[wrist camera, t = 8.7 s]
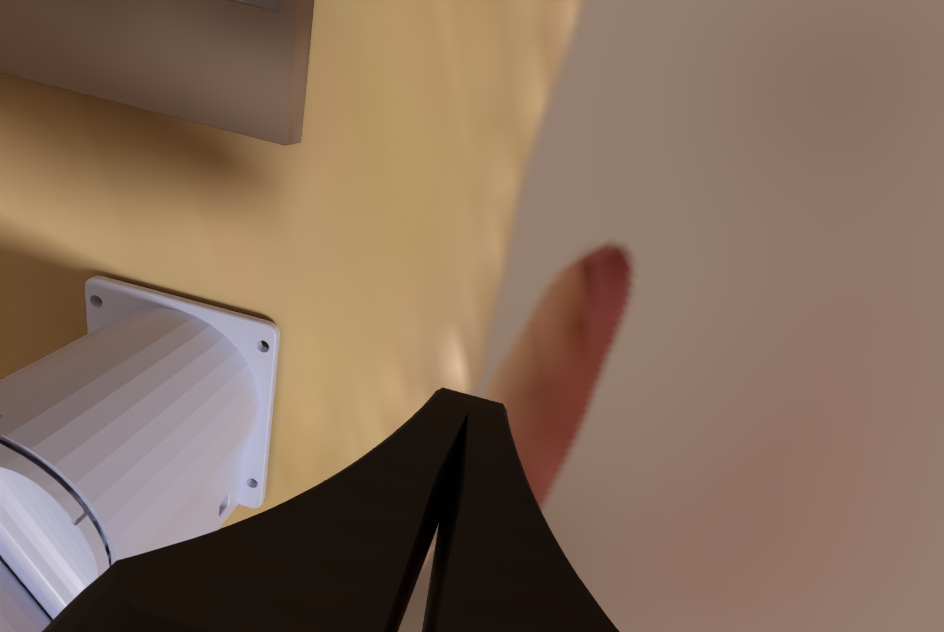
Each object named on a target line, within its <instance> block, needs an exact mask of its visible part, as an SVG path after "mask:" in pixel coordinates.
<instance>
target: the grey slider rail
mask: <svg viewBox="0 0 944 632" xmlns="http://www.w3.org/2000/svg"><path fill="white" fill-rule="evenodd" d="M313 8H314V0H0V73H3V74H7V75H11V76H15V77H19V78H23V79H27V80H31V81H34V82H38V83H42V84H46V85H50V86H54V87H58V88H62V89H66V90H70V91H74V92H78V93H81V94H85V95H89V96H93V97H97V98H101V99H105V100H109V101H113V102H117V103H121V104H125V105H128V106H132V107H136V108H140V109H144V110H148V111H152V112H156V113H160V114H164V115H168V116H172V117H176V118H179V119H183V120H187V121H191V122H195V123H199V124H203V125H207V126H211V127H215V128H219V129H223V130H226V131H230V132H234V133H238V134H242V135H246V136H250V137H254V138H258V139H262V140H266V141H270V142H273V143H277V144H281V145H290V144H295V143H300V142H301V134H302V124H303V113H304V103H305V92H306V82H307V71H308V61H309V50H310V39H311V29H312V18H313Z"/></svg>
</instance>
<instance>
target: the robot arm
mask: <svg viewBox="0 0 944 632" xmlns="http://www.w3.org/2000/svg"><path fill="white" fill-rule="evenodd" d="M97 296H98V297H99V298H100V299H101V300H102V303H101V302H100V301H99V300H98V297H97ZM85 300H86V315H87V331H88V334H87V335H85V336H83V337H81V338H79V339H77V340H75V341H73V342H71V343H69V344H67V345H66V346H64V347H62V348H60V349H58V350H56V351H54V352H52V353H50V354H48V355H46V356H44V357H43V358H41V359H39V360H37V361H35V362H33V363H31V364H29V365H27V366H25V367H23V368H21V369H20V370H18V371H16V372H14V373H12V374H10V375H8V376H6V377H4V378H2V379H0V632H398V630H399V627H400V624H401V622H402V619H403V616H404V614H405V611H406V608H407V606H408V603H409V601H410V598H411V595H412V593H413V590H414V587H415V585H416V582H417V579H418V577H419V574H420V572H421V569H422V566H423V564H424V561H425V558H426V556H427V553H428V550H429V548H430V545H431V542H432V540H433V537H434V534H435V532H436V529H437V526H438V524H439V526H438V532H437V539H436V545H435V551H434V558H433V564H432V571H431V577H430V583H429V590H428V596H427V603H426V610H425V615H424V622H423V629H422V632H619V631H618V629H617V628H616V627H615V626H614V624H613V623H612V622H611V621H610V619H609V618H608V617H607V616H606V614H605V613H604V612H603V610H602V609H601V607H600V606H599V605H598V603H597V602H596V600H595V599H594V598H593V596H592V595H591V593H590V592H589V591H588V589H587V588H586V587H585V585H584V584H583V582H582V581H581V579H580V578H579V577H578V575H577V574H576V572H575V571H574V569H573V567H572V566H571V564H570V563H569V561H568V559H567V558H566V556H565V555H564V553H563V551H562V549H561V548H560V546H559V544H558V542H557V541H556V539H555V537H554V535H553V534H552V532H551V530H550V528H549V526H548V524H547V522H546V520H545V518H544V516H543V514H542V512H541V510H540V508H539V505H538V503H537V501H536V499H535V497H534V495H533V492H532V490H531V488H530V485H529V483H528V480H527V478H526V475H525V473H524V470H523V467H522V465H521V462H520V459H519V457H518V454H517V450H516V447H515V444H514V441H513V437H512V434H511V430H510V426H509V422H508V417H507V410H506V409H505V407H504V405H503V404H501V403H498V402H494V401H490V400H487V399H483V398H479V397H476V396H472V395H468V394H464V393H461V392H457V391H453V390H450V389H446V388H441V389H439V390H437V391H436V392H435V393H434V394H433V396H432V397H431V398H430V399H429V400H428V401H427V402H426V403H425V404H424V406H423V407H422V408H421V409H420V410H419V411H417V412H416V413H415V414H414V415H413V416H412V417H411V418H410V419H409V420H408V421H407V422H406V423H404V424H403V425H402V426H401V427H400V428H399V429H397V430H396V431H395V432H394V433H393V434H392V435H391V436H389V437H388V438H387V439H386V440H384V441H383V442H382V443H380V444H379V445H378V446H376V447H375V448H373V449H372V450H371V451H369V452H368V453H367V454H365V455H364V456H363V457H361V458H360V459H359V460H357V461H356V462H354V463H353V464H351V465H350V466H348V467H347V468H345V469H343V470H342V471H340V472H339V473H337V474H335V475H334V476H332V477H330V478H329V479H327V480H325V481H324V482H322V483H320V484H318V485H317V486H315V487H313V488H311V489H309V490H307V491H305V492H303V493H301V494H299V495H297V496H295V497H294V498H292V499H290V500H288V501H286V502H284V503H282V504H279V505H277V506H275V507H273V508H271V509H269V510H267V511H264V512H262V513H259V514H257V515H254V516H252V517H250V518H247V519H245V520H242V521H240V522H237V523H235V524H232V525H229V526H227V527H224V528H221V529H219V528H220V527H221V526H222V524H223V523H224V522H225V520H226V519H227V518H228V517H229V515H230V514H231V513H232V511H233V510H234V509H235V507H236V506H237V505H238V504H239V505H242V506H246V507H250V508H257V507H259V506H260V505H261V504H262V503H263V501H264V499H265V491H266V480H267V469H268V459H269V448H270V437H271V426H272V415H273V405H274V394H275V383H276V372H277V361H278V350H279V340H280V331H279V329H278V327H277V326H276V325H275V324H274V323H273V322H271V321H268V320H265V319H261V318H257V317H253V316H250V315H246V314H242V313H238V312H235V311H231V310H227V309H224V308H220V307H216V306H212V305H209V304H205V303H201V302H197V301H194V300H190V299H186V298H183V297H179V296H175V295H171V294H168V293H164V292H160V291H156V290H153V289H149V288H145V287H142V286H138V285H134V284H130V283H127V282H123V281H119V280H115V279H112V278H108V277H104V276H98V275H97V276H94V277H92V278H89V279H87V281H86V282H85ZM261 341H265V342H267V344H268V345H269V348H266V347H264V346H263V345H262V342H261ZM252 478H253V479H254V480H256V481H257V482H255V481H253V480H252Z"/></svg>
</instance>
